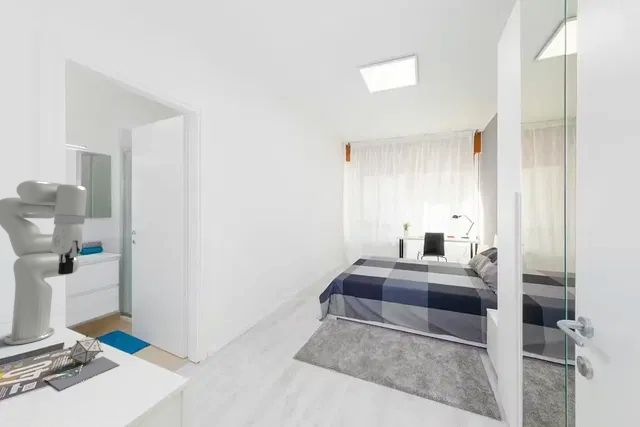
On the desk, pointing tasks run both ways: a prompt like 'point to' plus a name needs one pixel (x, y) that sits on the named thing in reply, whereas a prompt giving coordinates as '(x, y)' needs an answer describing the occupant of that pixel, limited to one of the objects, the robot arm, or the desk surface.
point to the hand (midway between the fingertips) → (65, 273)
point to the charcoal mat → (85, 372)
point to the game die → (85, 349)
